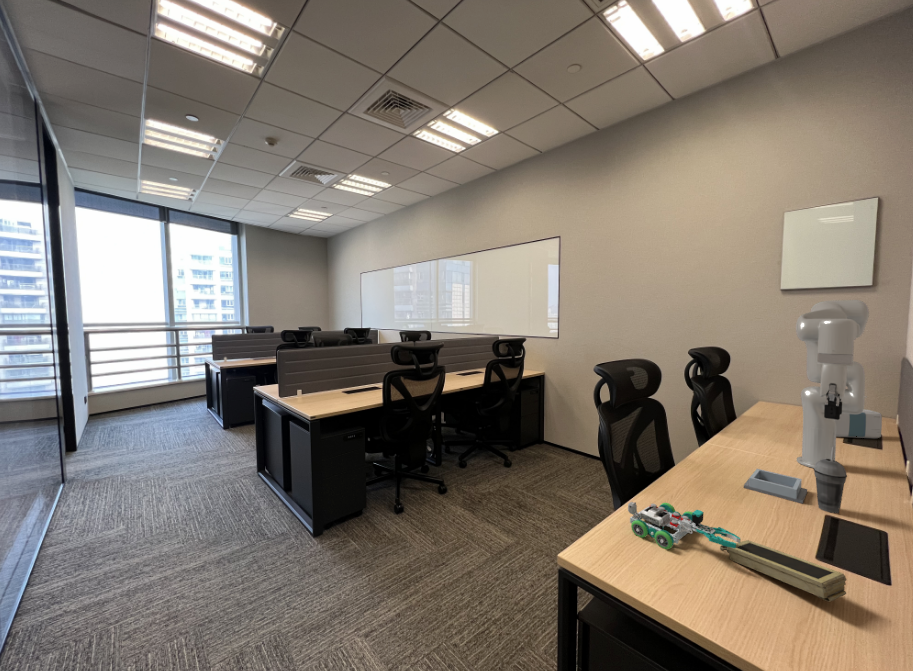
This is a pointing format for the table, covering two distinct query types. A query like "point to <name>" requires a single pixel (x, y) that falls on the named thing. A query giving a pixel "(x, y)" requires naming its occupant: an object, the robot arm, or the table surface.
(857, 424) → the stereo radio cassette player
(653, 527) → the robot kit
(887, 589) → the table surface
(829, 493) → the beverage cup
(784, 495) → the blue-grey tray
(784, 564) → the box
